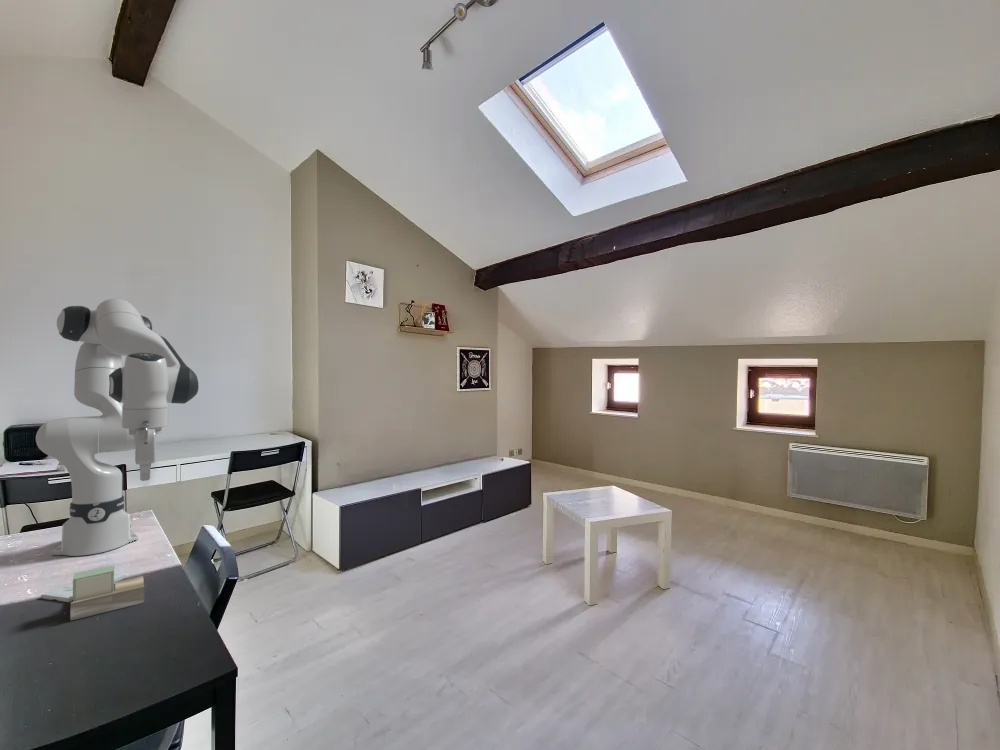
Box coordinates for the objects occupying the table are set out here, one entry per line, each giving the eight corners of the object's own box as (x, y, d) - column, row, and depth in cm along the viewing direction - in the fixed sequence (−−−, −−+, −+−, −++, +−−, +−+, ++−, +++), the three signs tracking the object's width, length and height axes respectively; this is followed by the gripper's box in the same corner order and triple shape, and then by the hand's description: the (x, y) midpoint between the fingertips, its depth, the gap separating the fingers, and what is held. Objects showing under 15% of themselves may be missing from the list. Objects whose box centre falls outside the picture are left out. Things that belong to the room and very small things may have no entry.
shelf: (75, 598, 101) (75, 583, 101) (143, 583, 109) (143, 568, 109) (70, 621, 92) (70, 603, 92) (144, 602, 100) (144, 586, 100)
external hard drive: (125, 580, 112) (68, 604, 100) (99, 576, 113) (40, 600, 101) (125, 573, 112) (68, 597, 100) (99, 570, 113) (40, 593, 101)
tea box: (74, 600, 96) (74, 573, 96) (113, 591, 101) (114, 564, 101) (72, 608, 93) (72, 579, 93) (113, 598, 97) (113, 571, 97)
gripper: (163, 423, 102) (162, 483, 102) (160, 415, 118) (159, 466, 118) (127, 425, 98) (127, 487, 98) (129, 416, 114) (128, 469, 114)
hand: (144, 475), depth 108 cm, fingers open, 8 cm apart
